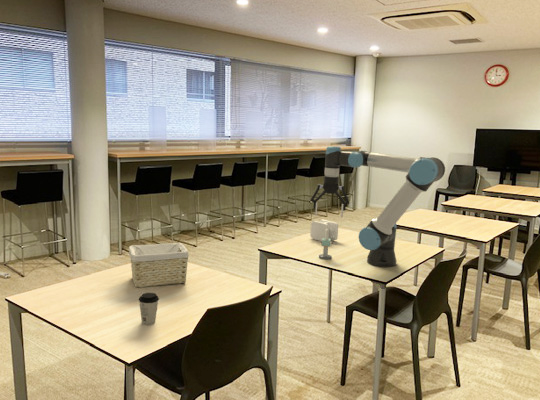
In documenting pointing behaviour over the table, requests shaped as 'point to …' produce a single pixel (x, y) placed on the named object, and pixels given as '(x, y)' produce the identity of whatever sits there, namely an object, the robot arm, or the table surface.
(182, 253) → the storage basket
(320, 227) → the cable organizer
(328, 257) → the post
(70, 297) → the table surface
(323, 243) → the sleeve
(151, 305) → the coffee cup
